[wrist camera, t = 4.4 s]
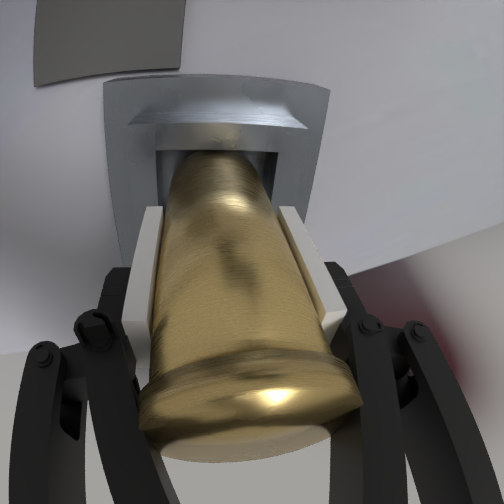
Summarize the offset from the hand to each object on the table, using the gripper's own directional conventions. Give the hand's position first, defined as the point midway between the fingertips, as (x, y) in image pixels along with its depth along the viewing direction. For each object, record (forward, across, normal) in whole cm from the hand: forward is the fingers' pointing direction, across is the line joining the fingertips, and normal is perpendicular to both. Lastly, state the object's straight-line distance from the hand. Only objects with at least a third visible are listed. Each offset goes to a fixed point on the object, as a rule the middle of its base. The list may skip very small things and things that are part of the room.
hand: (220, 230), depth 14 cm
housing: (+9, 0, 0) cm, 9 cm away
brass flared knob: (+4, 0, 0) cm, 4 cm away
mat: (+9, -8, +12) cm, 18 cm away
